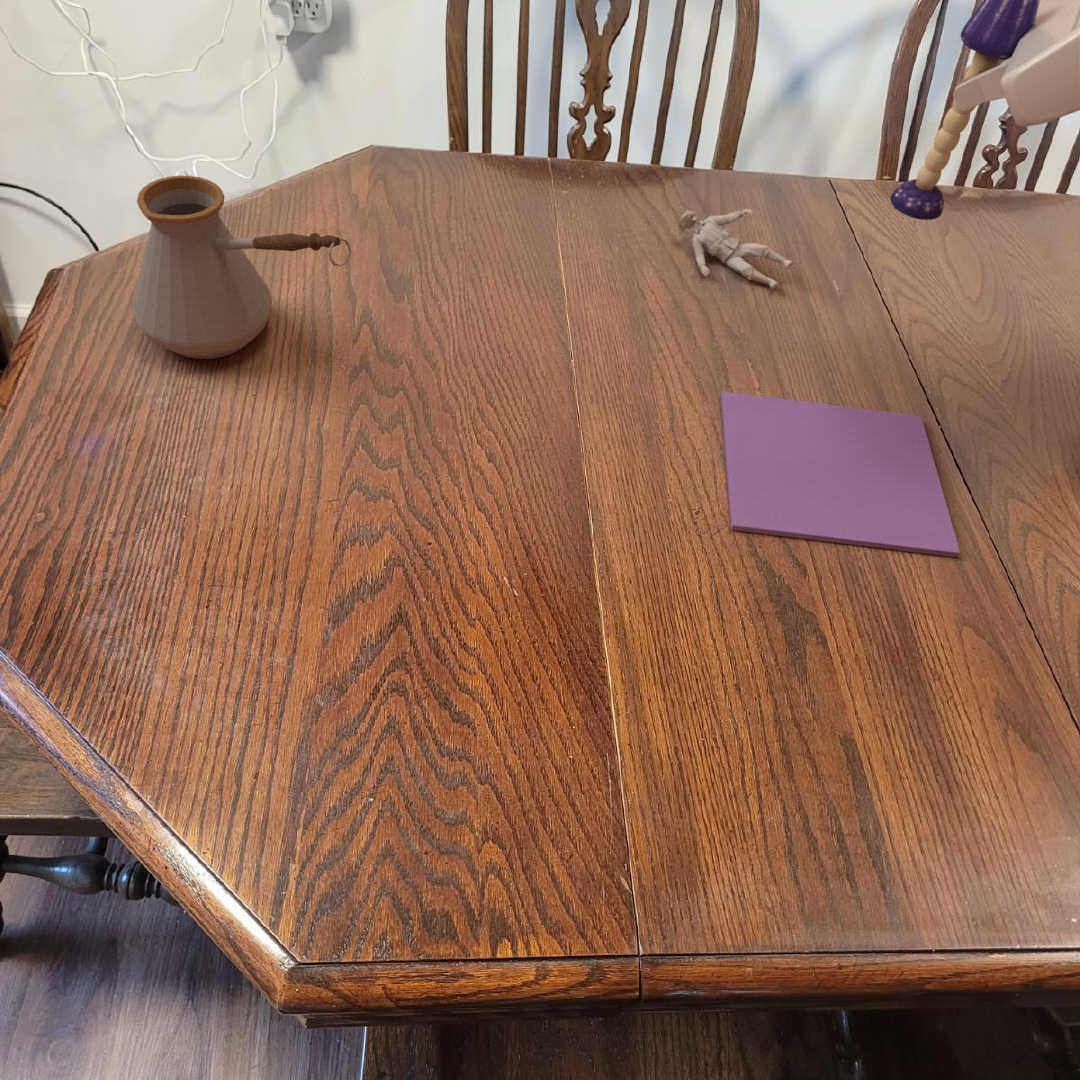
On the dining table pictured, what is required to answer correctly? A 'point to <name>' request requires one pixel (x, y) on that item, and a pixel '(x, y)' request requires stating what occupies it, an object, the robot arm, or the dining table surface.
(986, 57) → the toy lamp
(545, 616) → the dining table surface
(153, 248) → the coffee pot
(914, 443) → the mat
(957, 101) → the robot arm
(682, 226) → the soldier figure
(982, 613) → the dining table surface
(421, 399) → the dining table surface
